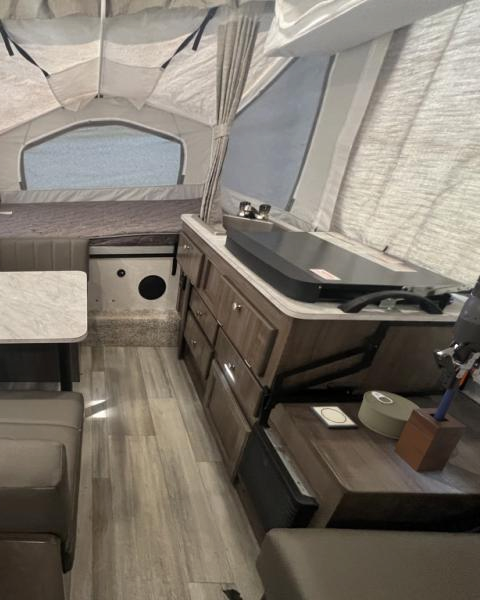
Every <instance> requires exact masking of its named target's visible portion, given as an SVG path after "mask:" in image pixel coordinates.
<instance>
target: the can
mask: <svg viewBox="0 0 480 600" xmlns="http://www.w3.org/2000/svg"><path fill="white" fill-rule="evenodd" d="M413 409H421V407H420V406H418V405H417V404H416V403H414V402H413V401H411V400H409V399H408V398H405V397H403V396H401V395H398V394H396V393H392V392H390V391H389V392H388V391H385V390H369V391H366V392H365V393H364V394H363V400H362V402H361V404H360V407H359V411H358V412H357V413H358V414H357V416H358V419H359V421H360V422H361V424H363V425H364V426H365V427H366V428H368V429H369V430H371V431H372V432H374V433H376V434H379V435H381V436H383V437H385V438H389V439H393V440H398V441H399V439H400V436H401V434H402V432H403V430H404V428H405V426H406V423H407V421H408V419H409V417H410V415H411V413H412V410H413Z"/></svg>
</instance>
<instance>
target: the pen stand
mask: <svg viewBox="0 0 480 600" xmlns="http://www.w3.org/2000/svg"><path fill="white" fill-rule="evenodd" d="M437 409H438V407H428V408H427V407H425V408H421V407H420V409H413V410H412V413H411V415H410V417H409V419H408V421H407V423H406V426H405V428H404V430H403V432H402V434H401V436H400V439H399V440H398V441H397V443H396V445H395V447H394V450H393V452H394V453H395V454H396V455H398V457H400V458H401V460H402V461H404V462H405V463H406V464H407V465H408V466H410V468H412V470H413V471H415V472H417V473H418V472H419V473H420V472H443V470H444V468H445V467H446V465H447V463H448V462H449V460H450V458H451V456H452V454H453V453H454V451H455V449H456V447H457V445H458V443H459V442H460V440H461V438H462V437H463V434H464V433H465V432H466V429H467V426H466V425H465V424H463V423H462V422H460V421H459V420H457V419H456V418H454V417H453V416H451V414H448V413H447V414H446V416H445V417H444V419H443V421H442V422H439V421H437V420H436V419H435V418H433V417H434V415H435V413H436V411H437Z"/></svg>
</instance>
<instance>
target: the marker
mask: <svg viewBox="0 0 480 600" xmlns="http://www.w3.org/2000/svg"><path fill="white" fill-rule="evenodd" d="M455 370H458V367H457V368H456V369H455ZM467 373H468V371H467V370H466V372H465V373H464V375H463V377H461V378H462V379H461V381H460V383H459V385H458V387H457V389H456V391H449V390H447V389H445V393H444V395H443V396H442V399H441V401H440V403H439V405H438V407H437V408H438V409H437V411H436V413H435V415H434V417H433V418H435V419H436V420H437V421H439V422H442V421H443V419H444V417H445V416H446V414H448V411H449V410H450V408H451V406H452V404H453V402H454V401H455V399H456V396H457V394H458V392H459V391H460V390H459V388H460V386H461V385H462V383H463V381H464V379H465V377H466V375H467Z"/></svg>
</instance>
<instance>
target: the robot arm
mask: <svg viewBox="0 0 480 600" xmlns="http://www.w3.org/2000/svg"><path fill="white" fill-rule="evenodd" d="M459 312H460V313H459V314H458V316H457V319H456V320H455V323H454V325H453V326H452V329H451V333H452V335H453V337H454V339H453V340H452V341H451V342H450V343H449V345H448V348H445V349H443V350H440V349H438V348H436V349H434V350H433V351H432V354H433V357H434V362H435V364H436V368H437V369H438V370H439V371H441V372H442V373H444V374H445V375H444V377H443V380H442V381H441V386H442V387H443V388H444V389H445V390H449V391H456V389H457V387H458V385H459V383H460V381H461V379H462V378H461V377H463V375H464V373H465V372H466V370H467V371H468V373H467V375H466V377H465V379H464V381H463V383H462V385H461V386H460V388H459V390H458V391H459V392H467V390H468V388H469V387H470V385H471V383H472V382H473V380H474V378H475V379H477V378H478V377H479V375H480V274H479V275H478V278H477V280H476V282H475V284H474V285H473V288H472V290H471V292H470V295H468V298H467V299H466V300H465V302H464V304H463V305H462V307H461V310H460V311H459ZM456 367H457V368H458V370H456V369H455V368H456Z"/></svg>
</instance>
